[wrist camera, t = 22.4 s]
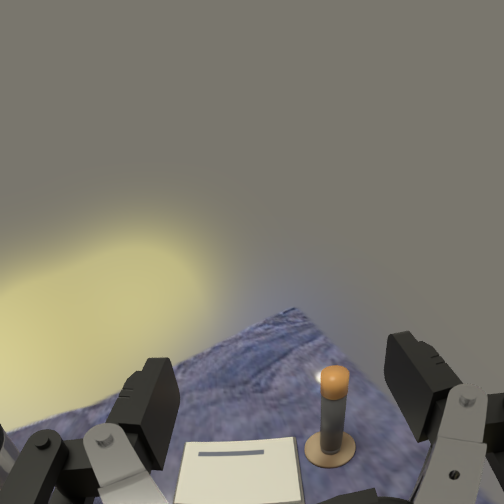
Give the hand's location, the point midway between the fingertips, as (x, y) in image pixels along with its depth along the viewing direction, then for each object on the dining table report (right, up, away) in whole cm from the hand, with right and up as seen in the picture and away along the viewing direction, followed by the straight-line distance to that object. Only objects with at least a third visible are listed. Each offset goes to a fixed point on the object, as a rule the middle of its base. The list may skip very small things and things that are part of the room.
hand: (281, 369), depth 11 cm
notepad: (-3, -25, +24) cm, 35 cm away
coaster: (+10, -23, +26) cm, 36 cm away
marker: (+10, -22, +26) cm, 36 cm away
